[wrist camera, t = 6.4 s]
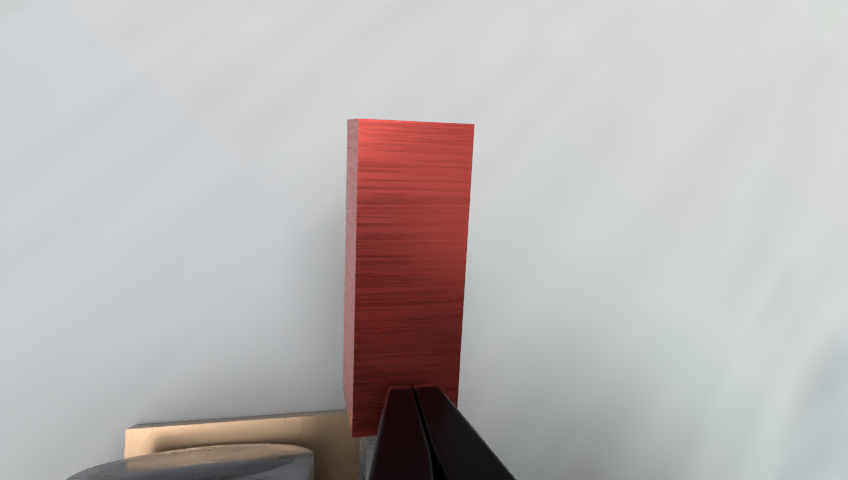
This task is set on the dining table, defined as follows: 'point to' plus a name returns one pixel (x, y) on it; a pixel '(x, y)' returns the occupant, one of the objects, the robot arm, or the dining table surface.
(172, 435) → the valve
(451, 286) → the lever
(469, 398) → the dining table surface
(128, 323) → the dining table surface
